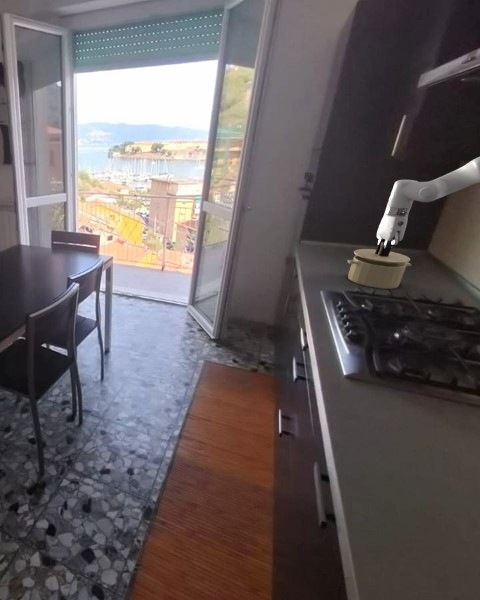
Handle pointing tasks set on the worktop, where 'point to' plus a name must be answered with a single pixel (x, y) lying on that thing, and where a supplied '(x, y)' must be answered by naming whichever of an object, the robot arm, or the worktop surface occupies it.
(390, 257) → the lid
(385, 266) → the pot
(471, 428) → the worktop surface
